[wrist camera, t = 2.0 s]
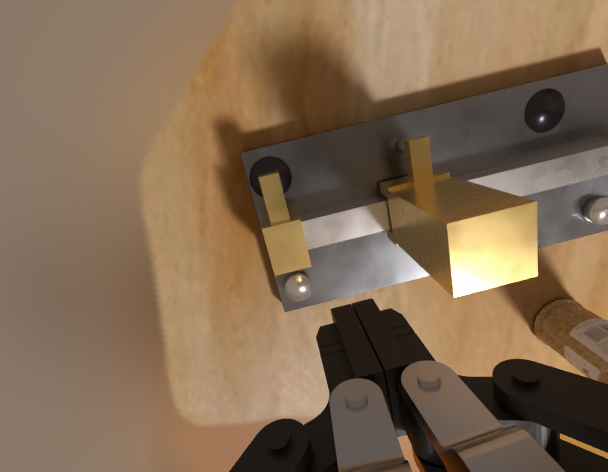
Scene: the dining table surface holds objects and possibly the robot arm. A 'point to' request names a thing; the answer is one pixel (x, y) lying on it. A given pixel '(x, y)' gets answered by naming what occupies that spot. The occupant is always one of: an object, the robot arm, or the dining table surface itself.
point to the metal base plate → (445, 156)
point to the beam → (375, 211)
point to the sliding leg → (460, 226)
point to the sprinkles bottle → (575, 336)
